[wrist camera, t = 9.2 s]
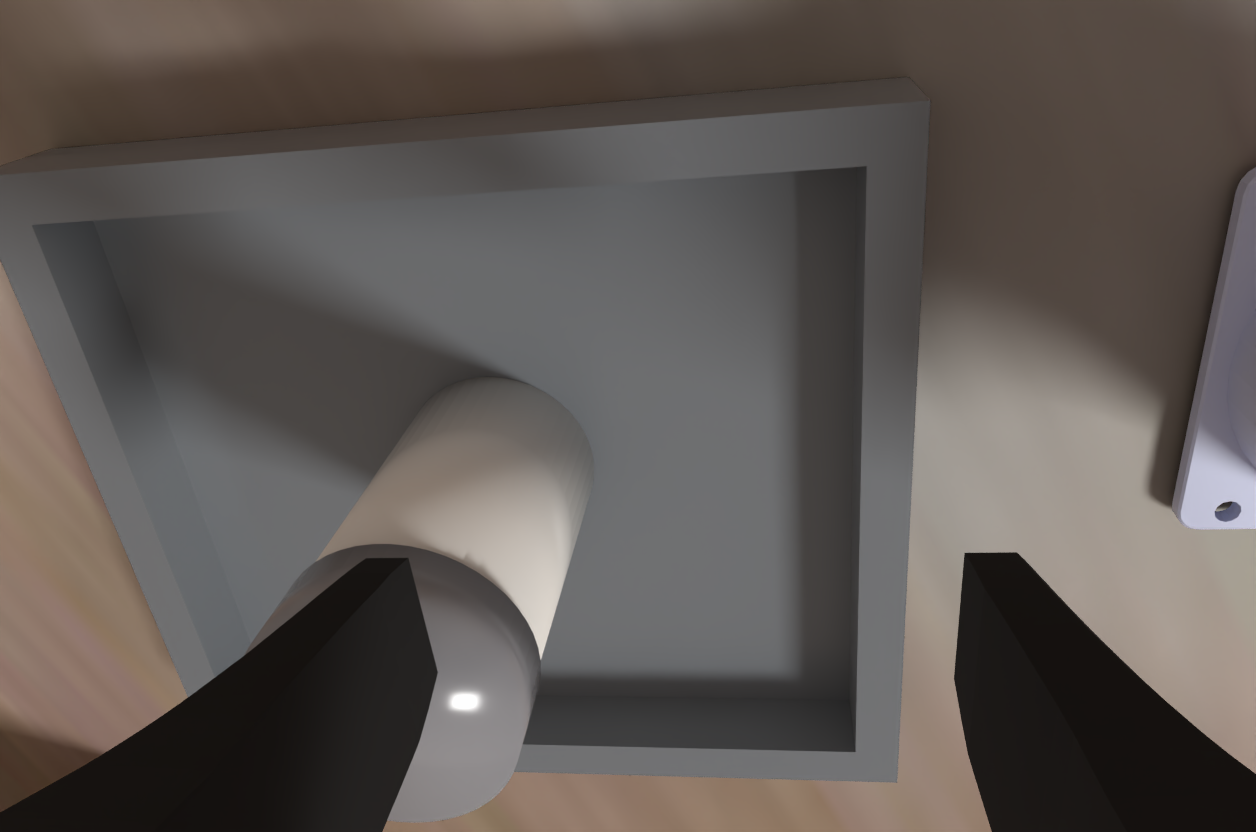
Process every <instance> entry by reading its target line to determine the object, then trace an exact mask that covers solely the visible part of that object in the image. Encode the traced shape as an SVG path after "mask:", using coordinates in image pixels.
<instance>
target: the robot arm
mask: <svg viewBox="0 0 1256 832" xmlns="http://www.w3.org/2000/svg"><path fill="white" fill-rule="evenodd" d="M1229 501H1232V504H1231V506H1230V507H1228V508H1227V509H1225V510H1223V511H1218V512H1217V511H1215V510H1216V508H1217V507H1218V506H1219V505H1221V504H1222V503H1224V502H1229ZM1172 511H1173V512H1174V514H1175V515H1176V517H1177V518H1178V519H1179V521H1180V522H1181V524H1182V525H1184V526H1186V527H1188V528H1191V529H1256V167H1255V168H1253V169H1252V170H1250V171H1248V173H1247V174H1246V175H1245V176H1244V177H1243V178H1242V179H1241V180H1240V182H1239V185H1238V187H1237V190H1236V193H1235V198H1234V203H1233V208H1232V213H1231V217H1230V222H1229V227H1228V232H1227V237H1226V242H1225V247H1224V252H1223V257H1222V262H1221V266H1220V271H1219V276H1218V281H1217V286H1216V291H1215V296H1214V301H1213V306H1212V311H1211V315H1210V320H1209V325H1208V330H1207V335H1206V340H1205V345H1204V350H1203V355H1202V360H1201V364H1200V369H1199V374H1198V379H1197V384H1196V389H1195V394H1194V399H1193V404H1192V409H1191V413H1190V418H1189V423H1188V428H1187V433H1186V438H1185V443H1184V448H1183V453H1182V457H1181V462H1180V467H1179V472H1178V477H1177V482H1176V487H1175V492H1174V497H1173V502H1172ZM437 674H438V671H437V667H436V663H435V659H434V655H433V651H432V647H431V644H430V640H429V636H428V632H427V628H426V624H425V620H424V616H423V612H422V609H421V605H420V601H419V597H418V593H417V589H416V585H415V581H414V577H413V574H412V570H411V566H410V562H409V558H365V559H364V560H363V561H361V562H360V563H359V564H357V565H356V566H354V567H353V568H352V569H350V570H349V571H348V572H347V573H345V574H344V575H343V576H342V577H340V578H339V579H338V580H337V581H335V582H334V583H333V584H332V585H330V586H329V587H328V588H327V589H325V590H324V591H323V592H322V593H321V594H319V595H318V596H317V597H316V598H315V599H313V600H312V601H311V602H310V603H308V604H307V605H306V606H305V607H304V608H302V609H301V610H300V611H299V612H298V613H296V614H295V615H294V616H293V617H291V618H290V619H289V620H288V621H286V622H285V623H284V624H283V625H282V626H280V627H279V628H278V629H277V630H275V631H274V632H273V633H272V634H270V635H269V636H268V637H267V638H265V639H264V640H263V641H262V642H261V643H259V644H258V645H257V646H256V647H254V648H253V649H252V650H251V651H249V652H248V653H247V654H246V655H244V656H243V657H242V658H240V659H239V660H238V661H236V662H235V663H234V664H232V665H231V666H230V667H228V668H227V669H226V670H224V671H223V672H221V673H220V674H219V675H217V676H216V677H215V678H213V679H212V680H211V681H209V682H208V683H207V684H205V685H204V686H203V687H201V688H200V689H199V690H197V691H196V692H195V693H193V694H192V695H191V696H189V697H188V698H187V699H185V700H184V701H183V702H181V703H180V704H179V705H177V706H176V707H174V708H173V709H171V710H170V711H169V712H167V713H166V714H164V715H163V716H161V717H160V718H158V719H157V720H155V721H154V722H152V723H151V724H149V725H148V726H146V727H145V728H143V729H142V730H140V731H139V732H137V733H136V734H134V735H133V736H131V737H129V738H128V739H126V740H125V741H123V742H122V743H120V744H118V745H117V746H115V747H114V748H112V749H111V750H109V751H107V752H106V753H104V754H103V755H101V756H99V757H98V758H96V759H94V760H93V761H91V762H89V763H88V764H86V765H85V766H83V767H81V768H79V769H77V770H76V771H74V772H72V773H70V774H68V775H67V776H65V777H63V778H61V779H60V780H58V781H56V782H54V783H52V784H51V785H49V786H47V787H45V788H43V789H42V790H40V791H38V792H36V793H35V794H33V795H31V796H29V797H27V798H26V799H24V800H22V801H20V802H18V803H17V804H15V805H13V806H11V807H10V808H8V809H6V810H4V811H2V812H0V832H382V831H383V829H384V826H385V824H386V822H387V819H388V817H389V815H390V812H391V810H392V807H393V805H394V803H395V800H396V798H397V796H398V793H399V791H400V788H401V786H402V783H403V781H404V779H405V776H406V774H407V771H408V769H409V766H410V764H411V762H412V759H413V757H414V754H415V752H416V749H417V747H418V744H419V741H420V738H421V734H422V731H423V727H424V724H425V720H426V717H427V713H428V710H429V706H430V702H431V698H432V694H433V690H434V686H435V682H436V678H437ZM954 680H955V686H956V691H957V697H958V703H959V708H960V714H961V720H962V725H963V730H964V735H965V741H966V746H967V751H968V755H969V759H970V762H971V765H972V769H973V772H974V775H975V779H976V782H977V785H978V788H979V792H980V795H981V798H982V801H983V804H984V808H985V811H986V814H987V817H988V821H989V824H990V827H991V830H992V832H1256V774H1255V773H1254V772H1252V771H1251V770H1250V769H1248V768H1247V767H1246V766H1244V765H1243V764H1242V763H1240V762H1239V761H1238V760H1236V759H1235V758H1234V757H1232V756H1231V755H1230V754H1228V753H1227V752H1226V751H1225V750H1223V749H1222V748H1221V747H1220V746H1218V745H1217V744H1216V743H1215V742H1213V741H1212V740H1211V739H1210V738H1208V737H1207V736H1206V735H1205V734H1203V733H1202V732H1201V731H1200V730H1199V729H1197V728H1196V727H1195V726H1194V725H1193V724H1192V723H1190V722H1189V721H1188V720H1187V719H1186V718H1185V717H1183V716H1182V715H1181V714H1180V713H1179V712H1178V711H1177V710H1175V709H1174V708H1173V707H1172V706H1171V705H1170V704H1168V703H1167V702H1166V701H1165V700H1164V699H1163V698H1162V697H1161V696H1159V695H1158V694H1157V693H1156V692H1155V691H1154V690H1153V689H1152V688H1151V687H1150V686H1149V685H1147V684H1146V683H1145V682H1144V681H1143V680H1142V679H1141V678H1140V677H1139V676H1138V675H1137V674H1136V673H1135V672H1134V671H1133V670H1132V669H1131V668H1130V667H1128V666H1127V665H1126V664H1125V663H1124V662H1123V661H1122V660H1121V659H1120V658H1119V657H1118V656H1117V655H1116V654H1115V653H1114V652H1113V651H1112V650H1111V649H1110V648H1109V647H1108V646H1107V645H1106V644H1105V643H1104V642H1103V641H1102V640H1101V639H1100V638H1099V637H1098V636H1097V635H1096V634H1095V633H1094V632H1093V631H1092V630H1091V629H1090V628H1089V627H1088V626H1087V625H1086V624H1085V623H1084V622H1083V621H1082V620H1081V619H1080V618H1079V617H1078V616H1077V615H1076V614H1075V613H1074V612H1073V611H1072V610H1071V609H1070V608H1069V607H1068V606H1067V605H1066V604H1065V602H1064V601H1063V600H1062V599H1061V598H1060V597H1059V596H1058V595H1057V594H1056V593H1055V592H1054V591H1053V590H1052V589H1051V588H1050V586H1049V585H1048V584H1047V583H1046V582H1045V581H1044V580H1043V579H1042V578H1041V577H1040V576H1039V575H1038V574H1037V573H1036V571H1035V570H1034V569H1033V568H1032V567H1031V566H1030V565H1029V564H1028V563H1027V562H1026V561H1025V560H1024V559H1023V558H1022V557H1021V556H1020V555H1019V554H1018V553H965V555H964V567H963V579H962V591H961V603H960V615H959V627H958V639H957V651H956V663H955V675H954Z"/></svg>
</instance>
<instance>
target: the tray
mask: <svg viewBox="0 0 1256 832" xmlns="http://www.w3.org/2000/svg"><path fill="white" fill-rule="evenodd" d="M930 102H931V100H930V99H929V98H928V97H927V96H926V95H925V94H924V93H923V92H922V91H921V90H920V89H919V87H918V86H917V85H916V84H915V83H914V82H913V81H912V80H911V79H910V78H909V77H902V78H890V79H878V80H866V81H854V82H842V83H830V84H819V85H807V86H795V87H783V88H771V89H759V90H747V91H735V92H723V93H711V94H700V95H688V96H676V97H664V98H652V99H640V100H628V101H616V102H604V103H592V104H581V105H569V106H557V107H545V108H533V109H521V110H509V111H497V112H485V113H473V114H462V115H450V116H438V117H426V118H414V119H402V120H390V121H378V122H366V123H355V124H343V125H331V126H319V127H307V128H295V129H283V130H271V131H259V132H247V133H236V134H224V135H212V136H200V137H188V138H176V139H164V140H152V141H140V142H128V143H117V144H105V145H93V146H81V147H69V148H57V149H49V150H46V151H43V152H40V153H37V154H34V155H31V156H28V157H25V158H22V159H19V160H16V161H14V162H11V163H8V164H5V165H2V166H0V260H1V262H2V265H3V267H4V269H5V272H6V274H7V276H8V279H9V281H10V283H11V286H12V288H13V290H14V293H15V295H16V297H17V300H18V302H19V304H20V307H21V309H22V311H23V314H24V316H25V318H26V321H27V323H28V325H29V328H30V330H31V332H32V335H33V337H34V339H35V342H36V344H37V346H38V349H39V351H40V353H41V356H42V358H43V360H44V363H45V365H46V367H47V370H48V372H49V374H50V377H51V379H52V381H53V384H54V386H55V388H56V391H57V393H58V395H59V398H60V400H61V402H62V405H63V407H64V409H65V412H66V414H67V416H68V419H69V421H70V423H71V426H72V428H73V430H74V433H75V435H76V437H77V440H78V442H79V444H80V447H81V449H82V451H83V454H84V456H85V458H86V461H87V463H88V465H89V468H90V470H91V472H92V475H93V477H94V479H95V481H96V484H97V486H98V488H99V491H100V493H101V495H102V498H103V500H104V502H105V505H106V507H107V509H108V512H109V514H110V516H111V519H112V521H113V523H114V526H115V528H116V530H117V533H118V535H119V537H120V540H121V542H122V544H123V547H124V549H125V551H126V554H127V556H128V558H129V561H130V563H131V565H132V568H133V570H134V572H135V575H136V577H137V579H138V582H139V584H140V586H141V589H142V591H143V593H144V596H145V598H146V600H147V603H148V605H149V607H150V610H151V612H152V614H153V617H154V619H155V621H156V624H157V626H158V628H159V631H160V633H161V635H162V638H163V640H164V642H165V645H166V647H167V649H168V652H169V654H170V656H171V659H172V661H173V663H174V666H175V668H176V670H177V673H178V675H179V677H180V680H181V682H182V684H183V687H184V689H185V691H186V694H187V696H188V697H189V696H191V695H192V694H193V693H195V692H196V691H197V690H199V689H200V688H201V687H203V686H204V685H205V684H207V683H208V682H209V681H211V680H212V679H213V678H215V677H216V676H217V675H219V674H220V673H221V672H223V671H224V670H226V669H227V668H228V667H230V666H231V665H232V664H234V663H235V662H236V661H238V660H239V659H240V658H242V657H243V656H244V654H245V653H246V651H247V649H248V647H249V646H250V645H251V643H252V642H253V640H254V639H255V637H256V636H257V635H258V633H259V632H260V630H261V629H262V627H263V626H264V625H265V623H266V622H267V620H268V619H269V617H270V616H271V615H272V613H273V612H274V610H275V609H276V607H277V606H278V604H279V603H280V602H281V600H282V599H283V597H284V596H285V594H286V593H287V592H288V590H289V589H290V587H291V586H292V584H293V583H294V582H295V581H296V579H297V578H298V577H299V576H300V575H301V573H302V572H303V571H305V570H306V569H307V568H308V567H309V566H311V565H312V564H313V563H314V562H316V560H317V559H318V557H319V556H320V555H321V553H322V552H323V550H324V549H325V547H326V546H327V544H328V543H329V541H330V540H331V539H332V537H333V536H334V534H335V533H336V531H337V530H338V528H339V527H340V525H341V524H342V523H343V521H344V520H345V518H346V517H347V515H348V514H349V512H350V511H351V510H352V508H353V507H354V505H355V504H356V502H357V501H358V499H359V498H360V496H361V495H362V494H363V492H364V491H365V489H366V488H367V486H368V485H369V483H370V482H371V480H372V479H373V478H374V476H375V475H376V473H377V472H378V470H379V469H380V467H381V466H382V464H383V463H384V462H385V460H386V459H387V457H388V456H389V454H390V453H391V451H392V450H393V449H394V447H395V446H396V444H397V443H398V441H399V440H400V438H401V437H402V435H403V434H404V433H405V431H406V430H407V428H408V427H409V425H410V424H411V422H412V421H413V419H414V418H415V417H416V415H417V414H418V412H419V411H420V409H421V408H422V407H423V406H424V404H425V403H426V402H427V401H428V400H429V399H430V398H431V397H432V396H433V395H435V394H436V393H437V392H439V391H440V390H442V389H444V388H445V387H447V386H449V385H452V384H454V383H456V382H460V381H463V380H466V379H472V378H478V377H497V378H506V379H511V380H516V381H519V382H522V383H525V384H528V385H531V386H533V387H535V388H537V389H539V390H541V391H543V392H545V393H546V394H548V395H550V396H551V397H553V398H554V399H555V400H557V401H558V402H559V403H560V404H562V405H563V406H564V407H565V408H566V409H567V410H568V411H569V412H570V413H571V414H572V415H573V417H574V418H575V419H576V420H577V422H578V423H579V424H580V426H581V428H582V429H583V431H584V433H585V435H586V437H587V439H588V441H589V444H590V447H591V451H592V454H593V460H594V479H593V485H592V489H591V492H590V496H589V499H588V503H587V506H586V509H585V513H584V516H583V520H582V523H581V526H580V530H579V533H578V536H577V540H576V543H575V547H574V550H573V553H572V557H571V560H570V564H569V567H568V570H567V574H566V577H565V580H564V584H563V587H562V591H561V594H560V597H559V601H558V604H557V607H556V611H555V614H554V618H553V621H552V624H551V628H550V631H549V635H548V638H547V641H546V645H545V648H544V651H543V655H542V658H541V678H540V684H539V689H538V692H537V696H536V699H535V703H534V706H533V710H532V713H531V717H530V720H529V724H528V727H527V730H526V734H525V737H524V741H523V744H522V748H521V751H520V755H519V758H518V762H517V764H516V767H515V770H514V772H538V773H574V774H610V775H646V776H682V777H718V778H754V779H790V780H826V781H862V782H897V775H898V754H899V734H900V713H901V693H902V673H903V652H904V632H905V612H906V591H907V571H908V550H909V530H910V510H911V489H912V469H913V449H914V428H915V408H916V387H917V367H918V347H919V326H920V306H921V286H922V265H923V245H924V224H925V204H926V184H927V163H928V143H929V123H930Z"/></svg>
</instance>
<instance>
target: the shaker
mask: <svg viewBox="0 0 1256 832" xmlns="http://www.w3.org/2000/svg"><path fill="white" fill-rule="evenodd" d="M593 479H594V460H593V454H592V451H591V447H590V444H589V441H588V439H587V437H586V435H585V433H584V431H583V429H582V428H581V426H580V424H579V423H578V422H577V420H576V419H575V418H574V417H573V415H572V414H571V413H570V412H569V411H568V410H567V409H566V408H565V407H564V406H563V405H562V404H560V403H559V402H558V401H557V400H555V399H554V398H553V397H551V396H550V395H548V394H546V393H545V392H543V391H541V390H539V389H537V388H535V387H533V386H531V385H528V384H525V383H522V382H519V381H516V380H511V379H506V378H497V377H478V378H472V379H466V380H463V381H460V382H456V383H454V384H452V385H449V386H447V387H445V388H444V389H442V390H440V391H439V392H437V393H436V394H435V395H433V396H432V397H431V398H430V399H429V400H428V401H427V402H426V403H425V404H424V406H423V407H422V408H421V409H420V411H419V412H418V414H417V415H416V417H415V418H414V419H413V421H412V422H411V424H410V425H409V427H408V428H407V430H406V431H405V433H404V434H403V435H402V437H401V438H400V440H399V441H398V443H397V444H396V446H395V447H394V449H393V450H392V451H391V453H390V454H389V456H388V457H387V459H386V460H385V462H384V463H383V464H382V466H381V467H380V469H379V470H378V472H377V473H376V475H375V476H374V478H373V479H372V480H371V482H370V483H369V485H368V486H367V488H366V489H365V491H364V492H363V494H362V495H361V496H360V498H359V499H358V501H357V502H356V504H355V505H354V507H353V508H352V510H351V511H350V512H349V514H348V515H347V517H346V518H345V520H344V521H343V523H342V524H341V525H340V527H339V528H338V530H337V531H336V533H335V534H334V536H333V537H332V539H331V540H330V541H329V543H328V544H327V546H326V547H325V549H324V550H323V552H322V553H321V555H320V556H319V557H318V559H317V560H316V562H314V563H313V564H312V565H311V566H309V567H308V568H307V569H306V570H305V571H303V572H302V573H301V575H300V576H299V577H298V578H297V579H296V581H295V582H294V583H293V584H292V586H291V587H290V589H289V590H288V592H287V593H286V594H285V596H284V597H283V599H282V600H281V602H280V603H279V604H278V606H277V607H276V609H275V610H274V612H273V613H272V615H271V616H270V617H269V619H268V620H267V622H266V623H265V625H264V626H263V627H262V629H261V630H260V632H259V633H258V635H257V636H256V637H255V639H254V640H253V642H252V643H251V645H250V646H249V647H248V649H247V651H246V653H245V654H244V655H246V654H247V653H248V652H249V651H251V650H252V649H253V648H254V647H256V646H257V645H258V644H259V643H261V642H262V641H263V640H264V639H265V638H267V637H268V636H269V635H270V634H272V633H273V632H274V631H275V630H277V629H278V628H279V627H280V626H282V625H283V624H284V623H285V622H286V621H288V620H289V619H290V618H291V617H293V616H294V615H295V614H296V613H298V612H299V611H300V610H301V609H302V608H304V607H305V606H306V605H307V604H308V603H310V602H311V601H312V600H313V599H315V598H316V597H317V596H318V595H319V594H321V593H322V592H323V591H324V590H325V589H327V588H328V587H329V586H330V585H332V584H333V583H334V582H335V581H337V580H338V579H339V578H340V577H342V576H343V575H344V574H345V573H347V572H348V571H349V570H350V569H352V568H353V567H354V566H356V565H357V564H359V563H360V562H361V561H363V560H364V559H365V558H409V562H410V566H411V570H412V574H413V577H414V581H415V585H416V589H417V593H418V597H419V601H420V605H421V609H422V612H423V616H424V620H425V624H426V628H427V632H428V636H429V640H430V644H431V647H432V651H433V655H434V659H435V663H436V667H437V671H438V674H437V678H436V682H435V686H434V690H433V694H432V698H431V702H430V706H429V710H428V713H427V717H426V720H425V724H424V727H423V731H422V734H421V738H420V741H419V744H418V747H417V749H416V752H415V754H414V757H413V759H412V762H411V764H410V766H409V769H408V771H407V774H406V776H405V779H404V781H403V783H402V786H401V788H400V791H399V793H398V796H397V798H396V800H395V803H394V805H393V807H392V810H391V812H390V815H389V817H388V819H387V820H389V821H396V822H414V823H416V822H433V821H439V820H446V819H450V818H454V817H457V816H461V815H464V814H466V813H469V812H471V811H474V810H476V809H478V808H479V807H481V806H483V805H484V804H486V803H488V802H489V801H490V800H491V799H493V798H494V797H495V796H496V795H498V794H499V792H500V791H501V790H502V789H503V788H504V787H505V786H506V784H507V783H508V781H509V780H510V778H511V776H512V775H513V773H514V770H515V767H516V764H517V762H518V758H519V755H520V751H521V748H522V744H523V741H524V737H525V734H526V730H527V727H528V724H529V720H530V717H531V713H532V710H533V706H534V703H535V699H536V696H537V692H538V689H539V684H540V678H541V658H542V655H543V651H544V648H545V645H546V641H547V638H548V635H549V631H550V628H551V624H552V621H553V618H554V614H555V611H556V607H557V604H558V601H559V597H560V594H561V591H562V587H563V584H564V580H565V577H566V574H567V570H568V567H569V564H570V560H571V557H572V553H573V550H574V547H575V543H576V540H577V536H578V533H579V530H580V526H581V523H582V520H583V516H584V513H585V509H586V506H587V503H588V499H589V496H590V492H591V489H592V485H593Z"/></svg>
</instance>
